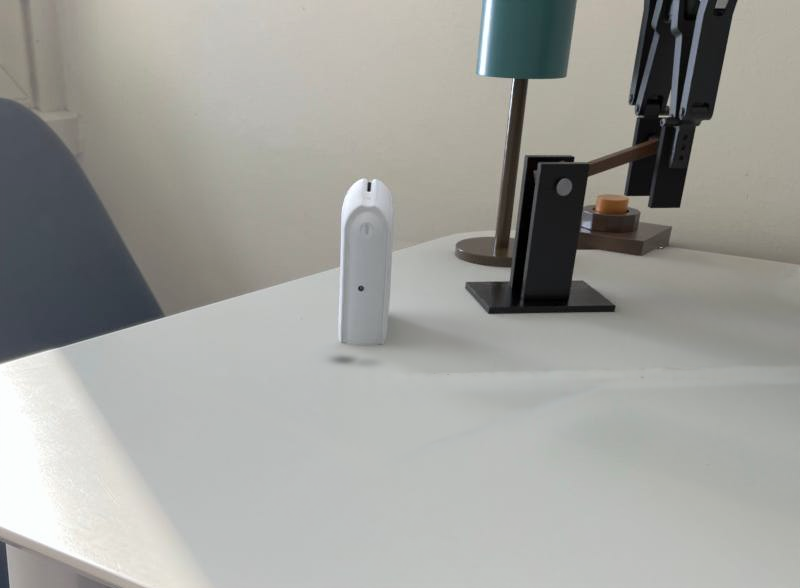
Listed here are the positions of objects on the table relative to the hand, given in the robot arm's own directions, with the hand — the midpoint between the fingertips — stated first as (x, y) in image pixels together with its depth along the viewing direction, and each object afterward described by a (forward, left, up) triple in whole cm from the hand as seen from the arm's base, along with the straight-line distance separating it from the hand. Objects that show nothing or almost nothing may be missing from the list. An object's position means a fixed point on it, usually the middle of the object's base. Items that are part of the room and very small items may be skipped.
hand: (651, 200), depth 91 cm
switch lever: (+5, +1, +2) cm, 5 cm away
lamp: (+13, -14, -9) cm, 21 cm away
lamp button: (+1, -25, -6) cm, 26 cm away
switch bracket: (+9, +3, -9) cm, 13 cm away
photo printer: (+24, +16, -10) cm, 30 cm away
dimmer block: (+1, -25, -9) cm, 27 cm away
